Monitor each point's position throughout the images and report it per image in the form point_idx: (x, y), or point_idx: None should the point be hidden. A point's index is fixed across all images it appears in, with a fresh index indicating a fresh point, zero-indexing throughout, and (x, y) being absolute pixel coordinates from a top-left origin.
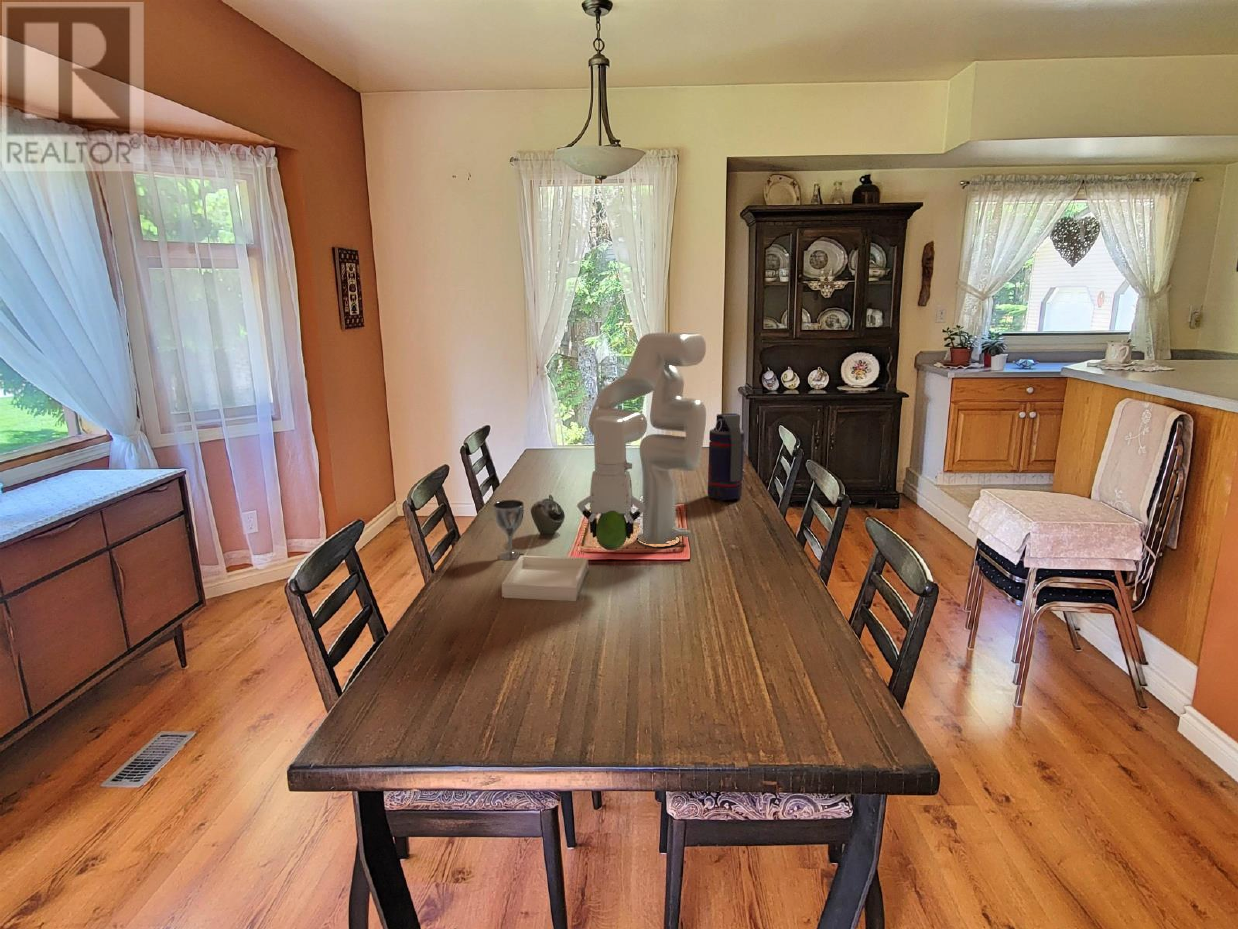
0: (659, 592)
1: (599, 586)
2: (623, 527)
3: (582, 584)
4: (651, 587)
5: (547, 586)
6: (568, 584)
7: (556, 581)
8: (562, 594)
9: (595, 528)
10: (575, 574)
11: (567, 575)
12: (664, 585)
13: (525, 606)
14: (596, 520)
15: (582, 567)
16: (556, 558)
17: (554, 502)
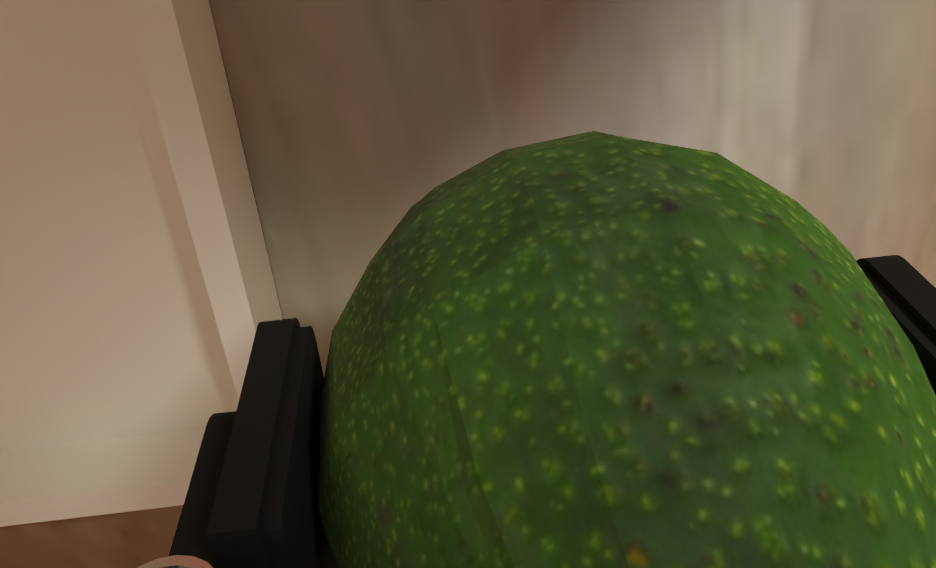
0: (868, 180)
1: (395, 178)
2: None
3: (252, 197)
4: (815, 108)
5: (80, 515)
6: (157, 277)
7: (29, 249)
8: None
9: (329, 557)
10: (118, 73)
11: (55, 112)
12: (926, 48)
13: (23, 532)
14: (293, 547)
15: (188, 142)
16: None
17: None
